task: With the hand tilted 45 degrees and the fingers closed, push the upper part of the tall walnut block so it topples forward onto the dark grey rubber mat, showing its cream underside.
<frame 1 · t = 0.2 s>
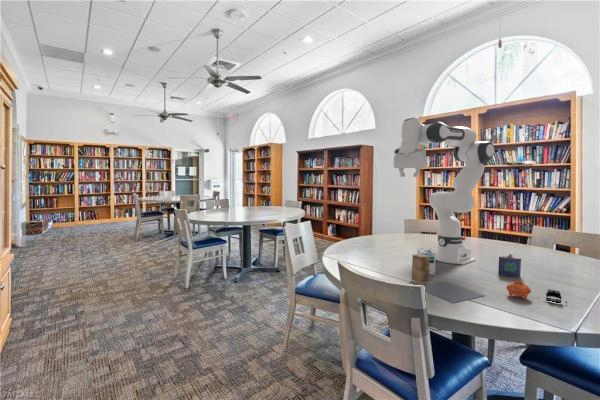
hand: (409, 176, 157), 47 cm above the table, tool pointing down, fingers open, 8 cm apart
light bulb box: (425, 271, 153), on the table
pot: (517, 297, 120), on the table
mat: (449, 291, 126), on the table
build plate: (553, 303, 116), on the table
walnut block: (420, 281, 138), on the table
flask: (509, 276, 146), on the table
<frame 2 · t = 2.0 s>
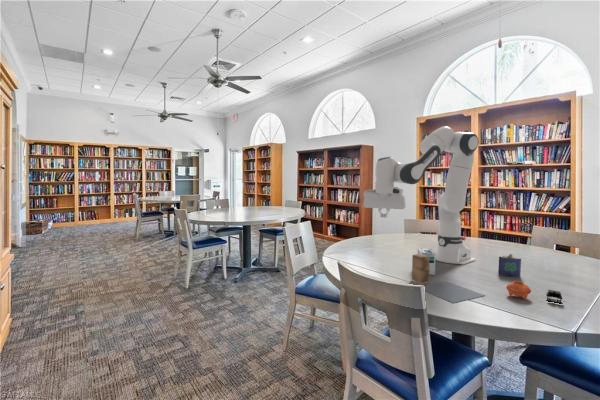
hand: (383, 217, 152), 27 cm above the table, tool pointing down, fingers closed
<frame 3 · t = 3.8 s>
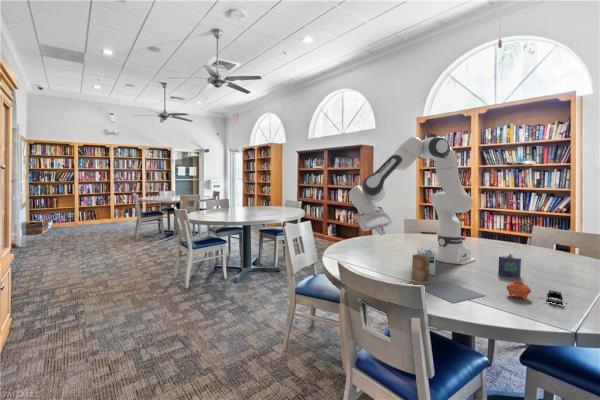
hand: (383, 234, 152), 19 cm above the table, tool tilted 45°, fingers closed
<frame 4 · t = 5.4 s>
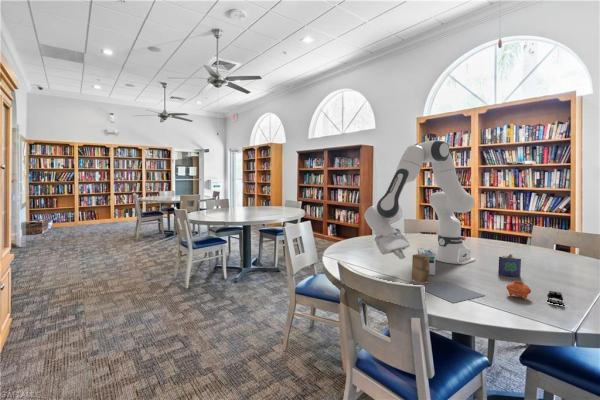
hand: (403, 258, 144), 9 cm above the table, tool tilted 45°, fingers closed
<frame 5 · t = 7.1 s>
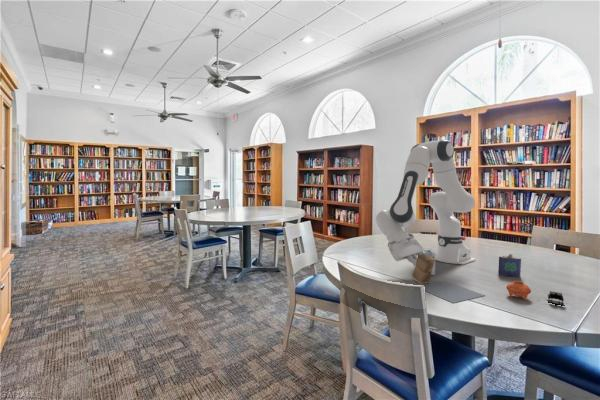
hand: (417, 264, 138), 7 cm above the table, tool tilted 45°, fingers closed
walnut block: (420, 280, 138), point 1 cm above the table, tilted 15°
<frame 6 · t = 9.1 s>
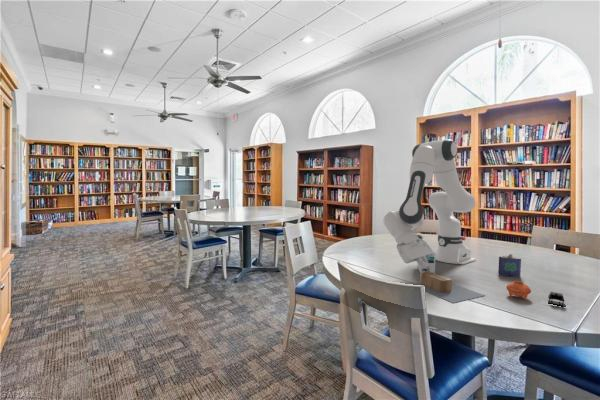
hand: (427, 267, 135), 7 cm above the table, tool tilted 45°, fingers closed
walnut block: (424, 277, 135), point 3 cm above the table, tilted 90°, touching mat
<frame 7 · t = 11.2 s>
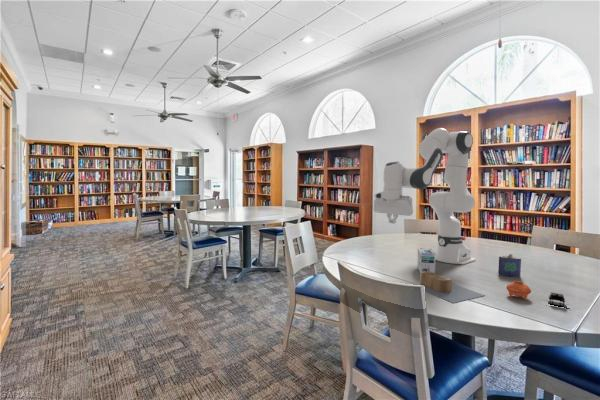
hand: (392, 223, 149), 25 cm above the table, tool pointing down, fingers closed
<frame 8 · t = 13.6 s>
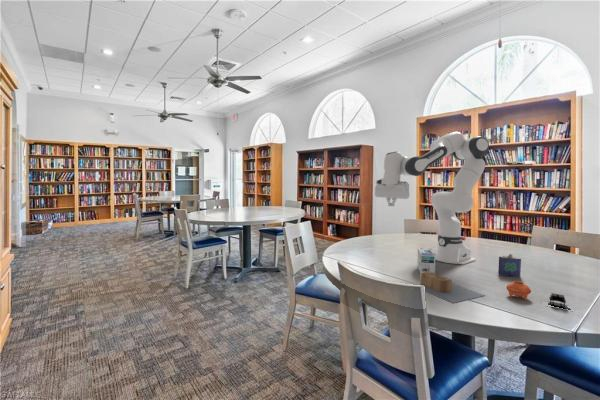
hand: (391, 206, 169), 31 cm above the table, tool pointing down, fingers closed
at the end: walnut block tilted 90°; walnut block inside the target area (10.6 cm from its centre), point 2.7 cm above the table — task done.
